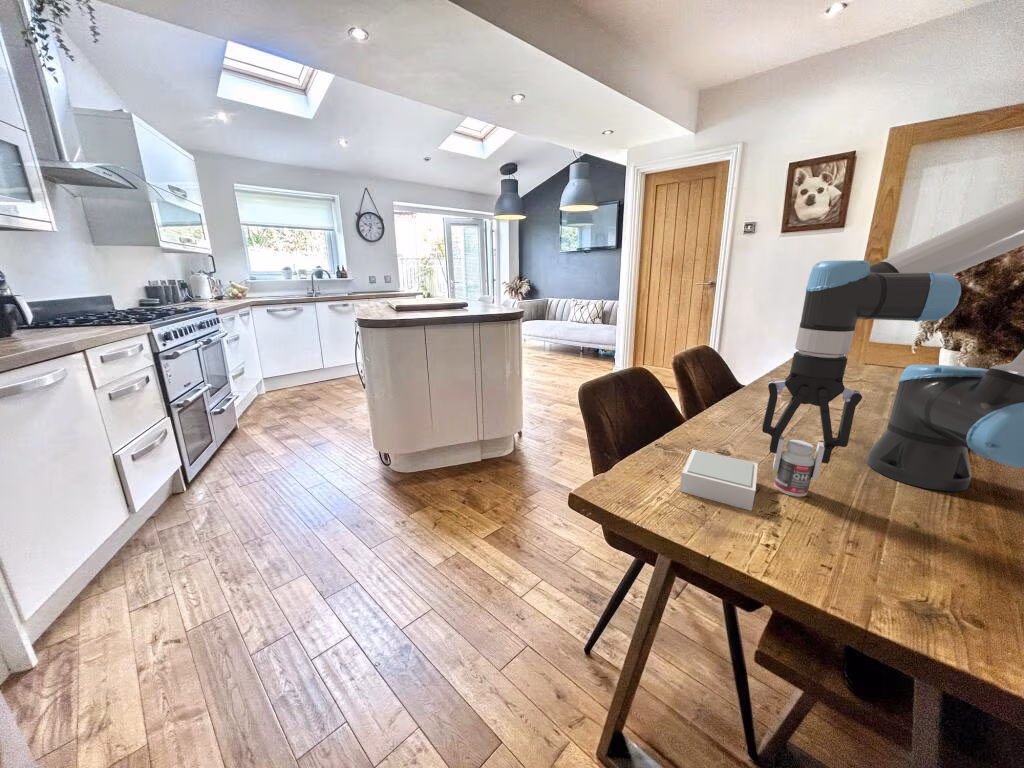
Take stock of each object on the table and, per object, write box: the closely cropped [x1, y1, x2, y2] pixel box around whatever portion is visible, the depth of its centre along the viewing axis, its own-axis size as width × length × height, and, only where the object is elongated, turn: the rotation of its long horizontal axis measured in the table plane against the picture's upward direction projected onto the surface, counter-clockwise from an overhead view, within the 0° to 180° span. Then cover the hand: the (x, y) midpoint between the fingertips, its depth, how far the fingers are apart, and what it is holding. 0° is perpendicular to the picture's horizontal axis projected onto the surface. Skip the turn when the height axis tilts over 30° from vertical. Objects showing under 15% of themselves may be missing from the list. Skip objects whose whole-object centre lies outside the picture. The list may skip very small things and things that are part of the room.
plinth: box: [679, 448, 759, 511], centre depth 76 cm, size 12×12×4 cm
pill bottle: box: [773, 439, 815, 498], centre depth 74 cm, size 5×5×10 cm
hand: (794, 472), depth 75 cm, fingers closed on pill bottle, 5 cm apart
